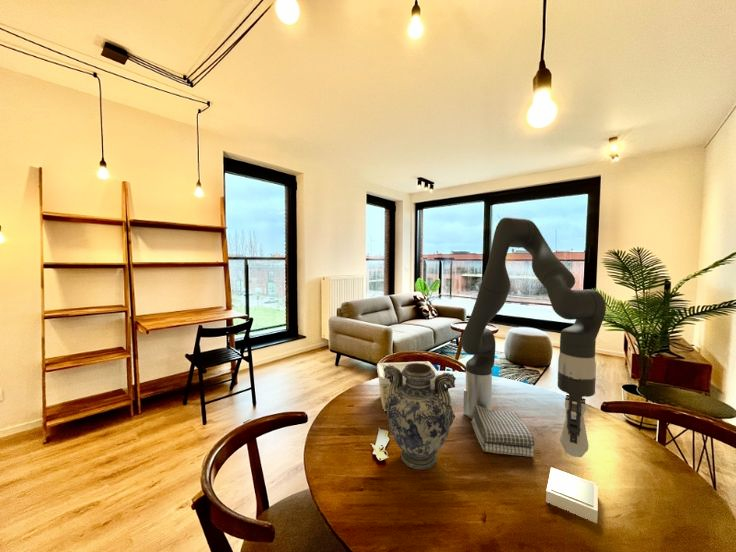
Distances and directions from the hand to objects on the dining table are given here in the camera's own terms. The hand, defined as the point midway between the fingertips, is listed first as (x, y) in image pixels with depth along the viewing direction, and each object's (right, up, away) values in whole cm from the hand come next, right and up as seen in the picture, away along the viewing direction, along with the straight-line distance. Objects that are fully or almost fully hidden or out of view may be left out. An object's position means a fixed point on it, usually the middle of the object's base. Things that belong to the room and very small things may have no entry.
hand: (573, 439), depth 74 cm
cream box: (-35, -13, +51) cm, 63 cm away
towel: (-7, -14, +26) cm, 30 cm away
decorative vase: (-36, -15, +17) cm, 42 cm away
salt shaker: (0, -3, 0) cm, 3 cm away
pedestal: (0, -15, +1) cm, 15 cm away
